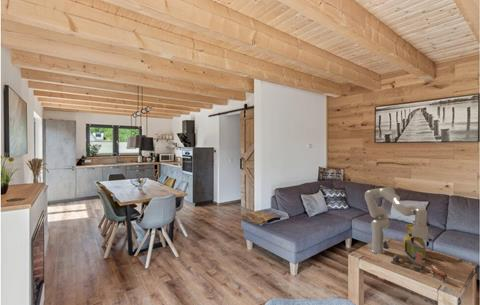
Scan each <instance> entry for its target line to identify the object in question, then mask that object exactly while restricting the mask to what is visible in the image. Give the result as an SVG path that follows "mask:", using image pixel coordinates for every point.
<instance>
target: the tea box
mask: <svg viewBox="0 0 480 305" xmlns="http://www.w3.org/2000/svg"><path fill="white" fill-rule="evenodd" d="M416 252H420V253H423V261H422V263H423V264H425V262H426V246H425V247H424V246H423V245H421V244H420V243H419V242H417V241H414V242H413V243H412V241H411V240H405V247H404V256H406V257H407V258H408V259H409V261H411V262H415V260H416Z"/></svg>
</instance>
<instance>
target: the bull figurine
mask: <svg viewBox="0 0 480 305" xmlns="http://www.w3.org/2000/svg"><path fill="white" fill-rule="evenodd" d="M429 267H430V268H431V271H432V275H431V278H432V277H436V278H438V277H439V278H441V282H442V283H445V281H446V280H447V279H448V274H447V273H445V272H444V271H442V270H440V269H439V268H438V267H437V266H435V265H434V264H431V265H429ZM435 275H436V276H435Z"/></svg>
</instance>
